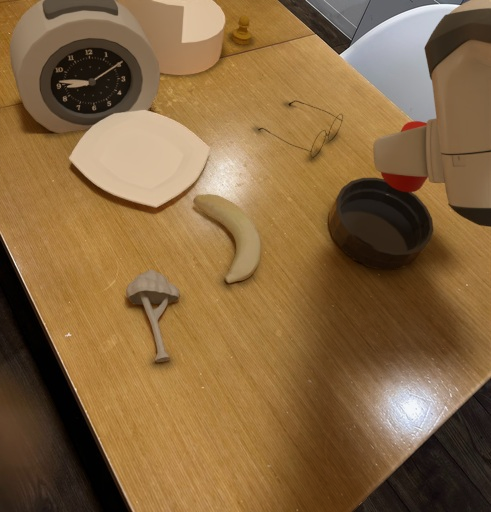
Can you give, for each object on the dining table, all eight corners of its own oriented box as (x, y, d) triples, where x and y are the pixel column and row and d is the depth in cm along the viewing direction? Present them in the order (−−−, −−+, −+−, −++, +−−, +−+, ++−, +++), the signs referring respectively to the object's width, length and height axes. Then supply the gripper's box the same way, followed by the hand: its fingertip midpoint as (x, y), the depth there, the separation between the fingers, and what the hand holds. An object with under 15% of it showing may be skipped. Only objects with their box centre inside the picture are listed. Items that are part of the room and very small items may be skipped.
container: (230, 75, 97) (241, 8, 86) (125, 74, 92) (123, 3, 81) (210, 18, 108) (218, -47, 97) (116, 15, 102) (113, -55, 92)
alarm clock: (29, 137, 79) (0, 16, 63) (21, 107, 82) (-8, -14, 66) (159, 119, 86) (162, 7, 70) (146, 92, 90) (147, -20, 74)
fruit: (234, 197, 78) (237, 182, 76) (272, 274, 71) (277, 260, 68) (191, 205, 76) (192, 191, 73) (226, 286, 68) (229, 273, 66)
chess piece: (229, 34, 105) (232, 11, 101) (246, 33, 106) (250, 11, 102) (235, 45, 103) (239, 22, 99) (252, 44, 104) (257, 21, 100)
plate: (224, 155, 83) (225, 146, 82) (158, 228, 72) (159, 220, 71) (128, 105, 86) (128, 95, 84) (52, 168, 75) (50, 159, 73)
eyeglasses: (254, 132, 88) (259, 109, 84) (291, 102, 95) (298, 79, 91) (306, 164, 85) (315, 142, 81) (341, 131, 92) (350, 109, 88)
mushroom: (140, 355, 56) (128, 262, 61) (130, 368, 60) (119, 278, 65) (197, 350, 60) (180, 262, 65) (184, 362, 63) (169, 278, 68)
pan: (437, 238, 80) (450, 220, 77) (385, 289, 73) (398, 272, 69) (364, 183, 85) (373, 164, 82) (308, 225, 77) (316, 206, 74)
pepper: (429, 191, 67) (464, 141, 60) (389, 192, 65) (420, 141, 58) (413, 160, 70) (444, 108, 63) (374, 160, 69) (402, 107, 62)
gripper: (574, 103, 54) (475, 116, 67) (423, 120, 48) (345, 130, 60) (573, 161, 56) (476, 163, 68) (425, 185, 49) (349, 182, 62)
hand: (414, 148), depth 64 cm, fingers closed on pepper, 6 cm apart
